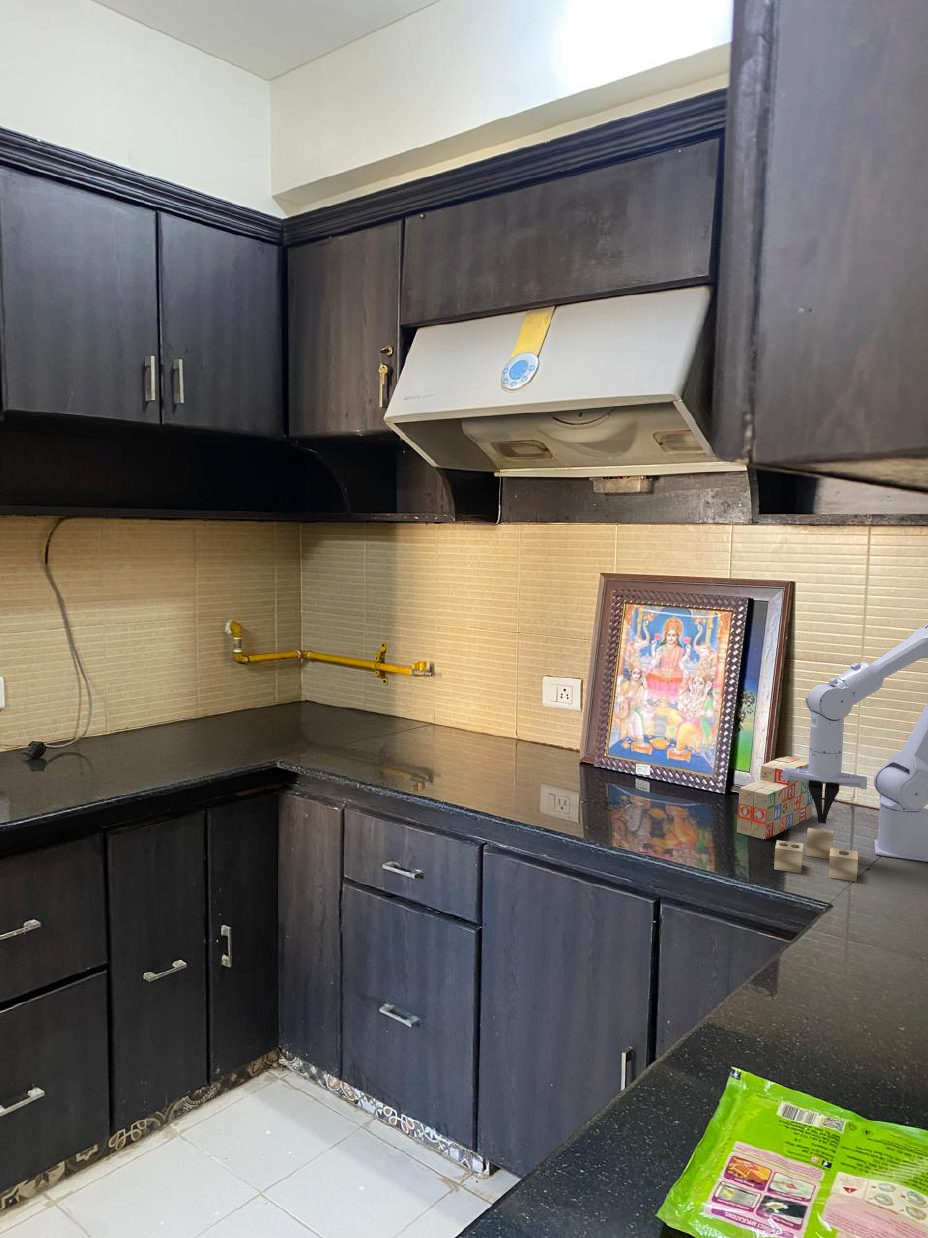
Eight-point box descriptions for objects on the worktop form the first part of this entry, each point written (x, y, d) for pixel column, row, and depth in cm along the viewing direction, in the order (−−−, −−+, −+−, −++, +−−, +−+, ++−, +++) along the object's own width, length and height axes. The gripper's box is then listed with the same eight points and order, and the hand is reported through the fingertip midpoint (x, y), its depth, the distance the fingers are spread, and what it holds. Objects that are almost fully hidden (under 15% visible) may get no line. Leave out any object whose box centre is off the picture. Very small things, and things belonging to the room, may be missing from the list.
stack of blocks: (765, 841, 179) (768, 779, 178) (736, 833, 183) (738, 772, 182) (812, 817, 194) (815, 760, 193) (783, 810, 199) (786, 754, 198)
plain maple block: (832, 852, 174) (833, 831, 173) (831, 859, 170) (833, 838, 169) (806, 848, 175) (807, 827, 175) (805, 856, 171) (806, 835, 171)
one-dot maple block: (856, 873, 163) (857, 850, 163) (856, 882, 159) (857, 858, 158) (829, 869, 165) (830, 846, 164) (828, 878, 161) (829, 855, 160)
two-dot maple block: (802, 865, 166) (803, 843, 166) (800, 873, 162) (802, 851, 162) (775, 861, 168) (777, 839, 168) (774, 869, 164) (775, 847, 164)
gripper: (868, 749, 171) (864, 820, 173) (785, 741, 177) (782, 810, 178) (868, 758, 165) (864, 832, 166) (783, 749, 170) (779, 821, 172)
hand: (821, 821), depth 172 cm, fingers closed
